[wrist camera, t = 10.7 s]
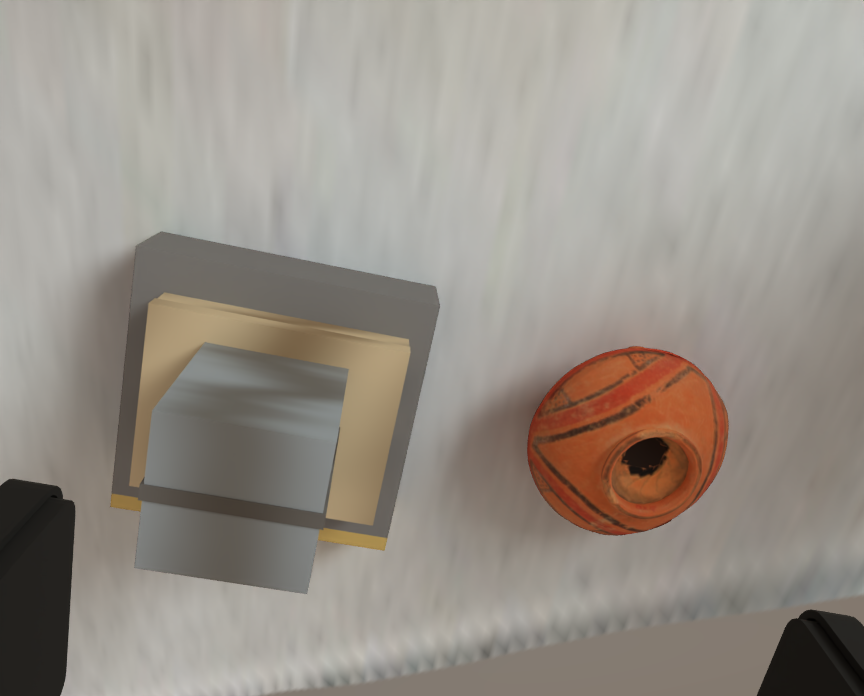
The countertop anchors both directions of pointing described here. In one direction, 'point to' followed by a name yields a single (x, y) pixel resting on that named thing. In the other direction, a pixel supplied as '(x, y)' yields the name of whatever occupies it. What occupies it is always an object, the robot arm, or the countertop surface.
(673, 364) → the pot
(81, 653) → the countertop surface
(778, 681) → the robot arm
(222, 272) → the dock
